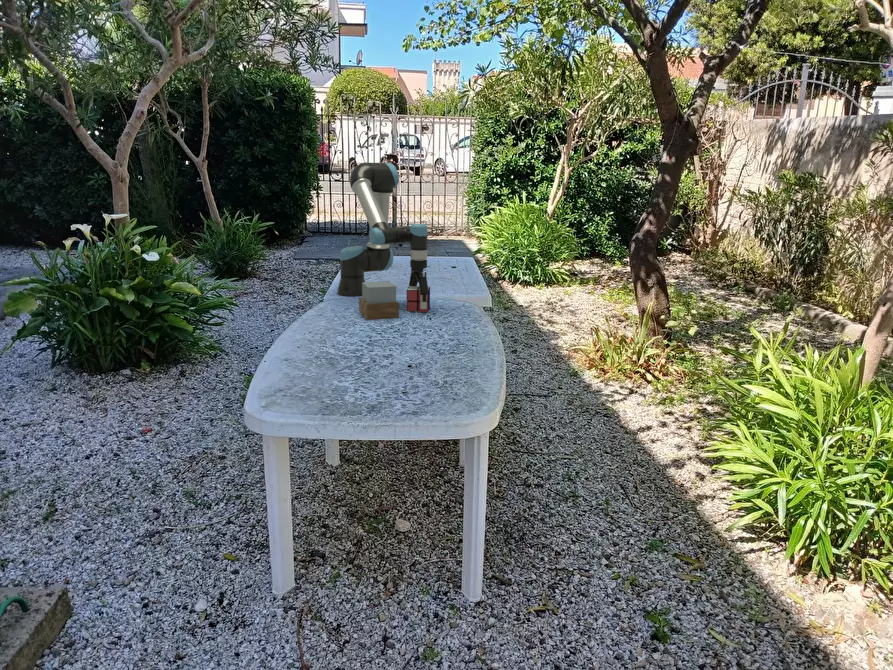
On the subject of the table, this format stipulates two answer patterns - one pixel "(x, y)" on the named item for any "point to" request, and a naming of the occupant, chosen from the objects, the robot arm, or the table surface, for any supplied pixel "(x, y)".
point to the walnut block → (378, 310)
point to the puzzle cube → (416, 299)
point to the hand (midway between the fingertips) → (418, 305)
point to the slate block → (378, 292)
